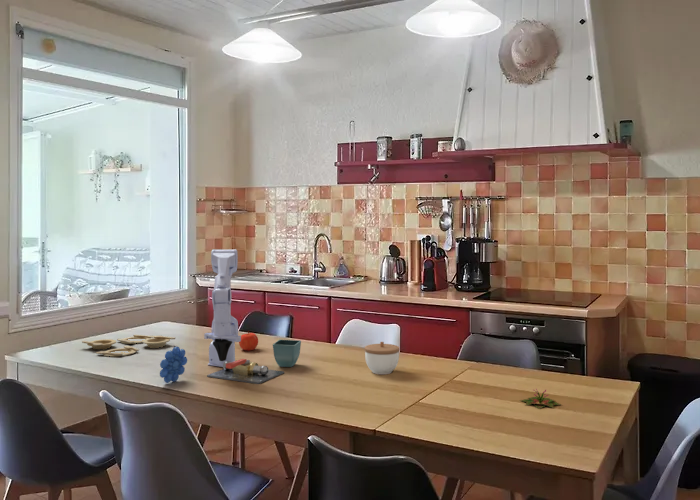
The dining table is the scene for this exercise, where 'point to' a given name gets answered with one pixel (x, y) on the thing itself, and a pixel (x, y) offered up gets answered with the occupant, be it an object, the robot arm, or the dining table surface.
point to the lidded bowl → (382, 357)
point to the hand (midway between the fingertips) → (222, 360)
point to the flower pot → (286, 352)
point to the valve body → (246, 373)
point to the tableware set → (107, 343)
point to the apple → (248, 341)
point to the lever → (237, 363)
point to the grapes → (173, 364)
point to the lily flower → (540, 400)
